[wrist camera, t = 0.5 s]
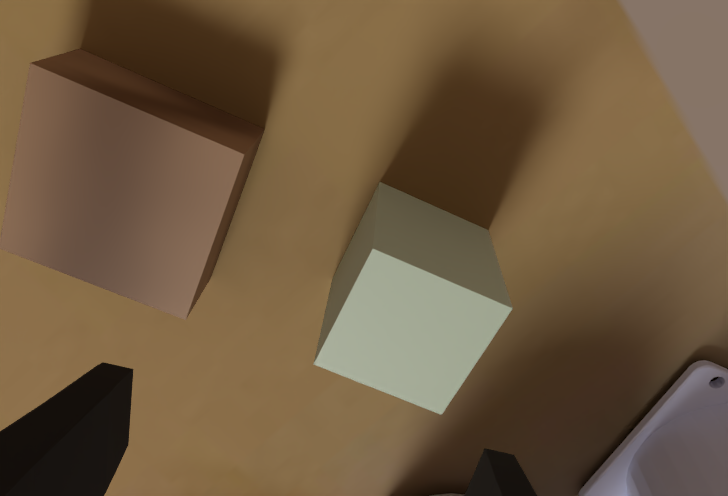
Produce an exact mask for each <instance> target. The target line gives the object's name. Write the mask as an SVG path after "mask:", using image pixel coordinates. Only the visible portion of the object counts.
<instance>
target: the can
mask: <svg viewBox="0 0 728 496" xmlns="http://www.w3.org/2000/svg"><path fill="white" fill-rule="evenodd" d="M431 496H464V494H454V493H447V494H439V495H431Z"/></svg>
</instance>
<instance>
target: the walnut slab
mask: <svg viewBox="0 0 728 496" xmlns="http://www.w3.org/2000/svg"><path fill="white" fill-rule="evenodd" d="M264 130H265V129H263V128H261V127H259V126H256V125H254V124H252V123H249V122H247V121H245V120H243V119H240V118H238V117H236V116H233V115H231V114H229V113H226V112H224V111H222V110H220V109H217V108H215V107H213V106H210V105H208V104H206V103H204V102H201V101H199V100H197V99H194V98H192V97H190V96H187V95H185V94H183V93H181V92H178V91H176V90H174V89H171V88H169V87H167V86H165V85H162V84H160V83H158V82H155V81H153V80H151V79H148V78H146V77H144V76H142V75H139V74H137V73H135V72H132V71H130V70H128V69H126V68H123V67H121V66H119V65H116V64H114V63H112V62H109V61H107V60H105V59H103V58H100V57H98V56H96V55H93V54H91V53H89V52H87V51H84V50H82V49H78V50H74V51H71V52H67V53H64V54H60V55H57V56H53V57H50V58H46V59H42V60H39V61H35V62H32V63H30V67H29V73H28V79H27V85H26V90H25V96H24V102H23V108H22V114H21V120H20V126H19V132H18V138H17V144H16V150H15V155H14V161H13V167H12V173H11V179H10V185H9V191H8V197H7V203H6V209H5V215H4V220H3V226H2V232H1V238H0V249H2V250H5V251H7V252H10V253H12V254H15V255H18V256H20V257H23V258H26V259H28V260H31V261H33V262H36V263H39V264H41V265H44V266H46V267H49V268H52V269H54V270H57V271H59V272H62V273H65V274H67V275H70V276H72V277H75V278H78V279H80V280H83V281H85V282H88V283H91V284H93V285H96V286H98V287H101V288H104V289H106V290H109V291H111V292H114V293H117V294H119V295H122V296H124V297H127V298H130V299H132V300H135V301H138V302H140V303H143V304H145V305H148V306H151V307H153V308H156V309H158V310H161V311H164V312H166V313H169V314H171V315H174V316H177V317H179V318H182V319H184V320H186V319H187V317H188V315H189V314H190V312H191V310H192V309H193V307H194V305H195V304H196V302H197V300H198V298H199V297H200V295H201V293H202V292H203V290H204V288H205V287H206V285H207V283H208V282H209V280H210V278H211V275H212V273H213V270H214V267H215V264H216V262H217V259H218V256H219V253H220V251H221V248H222V245H223V242H224V240H225V237H226V234H227V231H228V229H229V226H230V223H231V221H232V218H233V215H234V212H235V210H236V207H237V204H238V201H239V199H240V196H241V193H242V190H243V188H244V185H245V182H246V179H247V177H248V174H249V171H250V168H251V166H252V163H253V160H254V157H255V155H256V152H257V149H258V146H259V144H260V141H261V138H262V135H263V133H264Z"/></svg>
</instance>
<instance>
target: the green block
mask: <svg viewBox="0 0 728 496" xmlns="http://www.w3.org/2000/svg"><path fill="white" fill-rule="evenodd" d="M512 309H513V308H512V305H511V301H510V298H509V295H508V292H507V289H506V285H505V282H504V279H503V276H502V273H501V269H500V266H499V263H498V260H497V257H496V253H495V250H494V247H493V244H492V241H491V237H490V234H489V231H488V230H487V229H485V228H482V227H480V226H478V225H476V224H473V223H471V222H469V221H467V220H464V219H462V218H460V217H458V216H455V215H453V214H451V213H449V212H447V211H444V210H442V209H440V208H438V207H435V206H433V205H431V204H429V203H426V202H424V201H422V200H420V199H417V198H415V197H413V196H411V195H408V194H406V193H404V192H402V191H399V190H397V189H395V188H393V187H390V186H388V185H386V184H384V183H382V182H379V184H378V186H377V188H376V190H375V192H374V195H373V197H372V199H371V201H370V203H369V205H368V207H367V209H366V211H365V213H364V215H363V217H362V219H361V221H360V223H359V225H358V227H357V229H356V231H355V233H354V235H353V238H352V240H351V242H350V244H349V246H348V248H347V250H346V252H345V254H344V256H343V258H342V260H341V262H340V264H339V266H338V268H337V270H336V272H335V274H334V276H333V279H332V283H331V288H330V292H329V297H328V301H327V306H326V310H325V315H324V320H323V324H322V329H321V333H320V338H319V342H318V347H317V351H316V356H315V360H314V365H317V366H319V367H322V368H324V369H327V370H329V371H332V372H334V373H337V374H340V375H342V376H345V377H347V378H350V379H352V380H355V381H357V382H360V383H362V384H365V385H367V386H370V387H372V388H375V389H377V390H380V391H383V392H385V393H388V394H390V395H393V396H395V397H398V398H400V399H403V400H405V401H408V402H410V403H413V404H415V405H418V406H420V407H423V408H426V409H428V410H431V411H433V412H436V413H438V414H441V415H442V413H443V412H444V410H445V409H446V407H447V406H448V404H449V403H450V402H451V400H452V399H453V397H454V396H455V394H456V393H457V391H458V390H459V388H460V387H461V385H462V384H463V382H464V381H465V379H466V378H467V376H468V375H469V373H470V372H471V370H472V369H473V367H474V366H475V364H476V363H477V361H478V360H479V358H480V357H481V355H482V354H483V352H484V351H485V349H486V348H487V346H488V345H489V343H490V342H491V340H492V339H493V337H494V336H495V334H496V333H497V331H498V330H499V328H500V327H501V325H502V324H503V322H504V321H505V319H506V318H507V316H508V315H509V313H510V312H511V310H512Z"/></svg>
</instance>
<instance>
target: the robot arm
mask: <svg viewBox="0 0 728 496" xmlns="http://www.w3.org/2000/svg"><path fill="white" fill-rule="evenodd" d="M714 377H718V379H716V380H715V381H710V380H711V379H713V378H714ZM132 379H133V369H130V368H126V367H121V366H117V365H112V364H108V363H101V364H99V365H97V366H96V367H94V368H93V369H92V370H90V371H89V372H87V373H86V374H84V375H83V376H82V377H80V378H79V379H77V380H76V381H74V382H73V383H72V384H70V385H69V386H67V387H66V388H64V389H63V390H62V391H60V392H59V393H57V394H56V395H54V396H53V397H51V398H50V399H49V400H47V401H46V402H44V403H43V404H41V405H40V406H38V407H37V408H35V409H34V410H32V411H31V412H29V413H28V414H26V415H25V416H23V417H22V418H20V419H19V420H17V421H16V422H14V423H12V424H11V425H9V426H8V427H6V428H5V429H3V430H2V431H0V496H104V494H105V493H106V491H107V489H108V487H109V484H110V482H111V480H112V478H113V476H114V474H115V472H116V470H117V468H118V466H119V464H120V461H121V459H122V457H123V455H124V453H125V451H126V448H127V446H128V440H129V425H130V410H131V395H132ZM464 496H537V495H536V493H535V491H534V489H533V488H532V486H531V484H530V482H529V481H528V479H527V477H526V475H525V474H524V472H523V470H522V468H521V467H520V465H519V463H518V461H517V460H516V458H515V456H514V455H511V454H507V453H502V452H498V451H494V450H489V449H484V451H483V454H482V456H481V458H480V461H479V463H478V465H477V468H476V470H475V472H474V475H473V477H472V479H471V482H470V484H469V486H468V488H467V491H466V493H465V495H464ZM578 496H728V369H726V368H724V367H722V366H719V365H717V364H715V363H713V362H710V361H706V360H702V361H697V362H695V363H693V364H692V365H690V366H689V367H688V368H687V370H686V371H685V372H684V373H683V374H682V375H681V376H680V377H679V379H678V380H677V381H676V382H675V383H674V384H673V385H672V387H671V388H670V389H669V390H668V391H667V392H666V393H665V394H664V396H663V397H662V398H661V399H660V400H659V401H658V402H657V404H656V405H655V406H654V407H653V408H652V409H651V410H650V411H649V413H648V414H647V415H646V416H645V417H644V418H643V419H642V420H641V422H640V423H639V424H638V425H637V426H636V427H635V428H634V430H633V431H632V432H631V433H630V434H629V435H628V436H627V437H626V439H625V440H624V441H623V442H622V443H621V444H620V445H619V447H618V448H617V449H616V450H615V451H614V452H613V453H612V454H611V456H610V457H609V458H608V459H607V460H606V461H605V462H604V463H603V465H602V466H601V467H600V468H599V469H598V470H597V471H596V473H595V474H594V475H593V476H592V477H591V478H590V479H589V480H588V482H587V483H586V484H585V485H584V486H583V487H582V488H581V490H580V491H579V493H578Z"/></svg>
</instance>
